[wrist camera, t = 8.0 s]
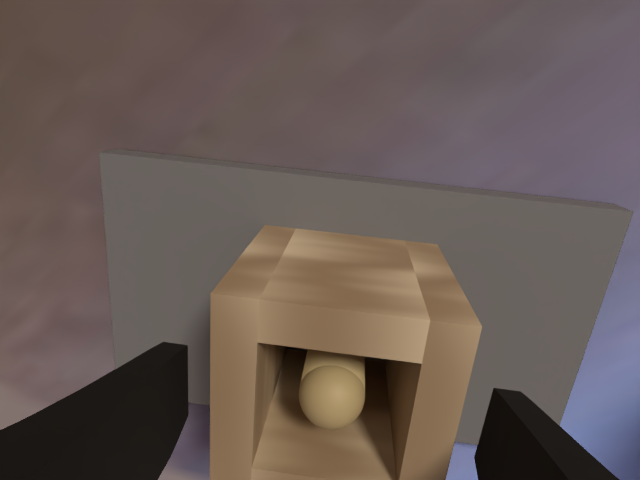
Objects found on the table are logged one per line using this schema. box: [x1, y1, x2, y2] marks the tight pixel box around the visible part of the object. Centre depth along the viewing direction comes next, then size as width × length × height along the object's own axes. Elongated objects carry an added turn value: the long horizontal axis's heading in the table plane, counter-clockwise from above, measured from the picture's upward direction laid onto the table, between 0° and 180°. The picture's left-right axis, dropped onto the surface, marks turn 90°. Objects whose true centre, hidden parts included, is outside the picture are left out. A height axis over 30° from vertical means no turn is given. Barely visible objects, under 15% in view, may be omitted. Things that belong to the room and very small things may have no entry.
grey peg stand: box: [99, 149, 633, 445], centre depth 12 cm, size 16×9×6 cm, turn 85°
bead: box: [210, 225, 482, 480], centre depth 11 cm, size 5×5×5 cm
